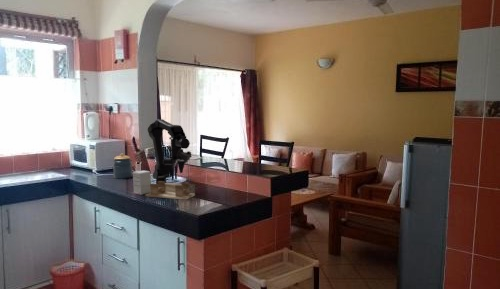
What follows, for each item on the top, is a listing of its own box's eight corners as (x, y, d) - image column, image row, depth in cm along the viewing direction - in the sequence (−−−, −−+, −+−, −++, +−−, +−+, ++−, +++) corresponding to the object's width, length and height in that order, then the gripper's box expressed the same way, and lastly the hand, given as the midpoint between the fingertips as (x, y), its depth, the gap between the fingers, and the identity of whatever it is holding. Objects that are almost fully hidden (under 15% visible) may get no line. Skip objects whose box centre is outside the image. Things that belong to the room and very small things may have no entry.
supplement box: (144, 191, 222) (143, 170, 221) (151, 192, 218) (150, 171, 216) (133, 193, 217) (132, 171, 215) (140, 194, 212) (139, 173, 211)
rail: (164, 191, 221) (164, 182, 220) (194, 193, 214) (194, 184, 214) (161, 192, 218) (161, 184, 217) (191, 194, 211) (191, 185, 210)
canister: (128, 178, 264) (127, 154, 262) (110, 178, 264) (109, 154, 262) (134, 175, 277) (133, 151, 275) (117, 175, 277) (116, 152, 275)
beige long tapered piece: (155, 192, 217) (155, 180, 217) (195, 195, 209) (194, 183, 208) (145, 196, 208) (144, 184, 207) (186, 199, 199) (185, 186, 199)
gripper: (179, 149, 201) (180, 178, 203) (196, 146, 218) (197, 172, 220) (161, 149, 205) (162, 176, 207) (180, 145, 223) (181, 171, 224)
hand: (176, 174), depth 214 cm, fingers open, 9 cm apart
